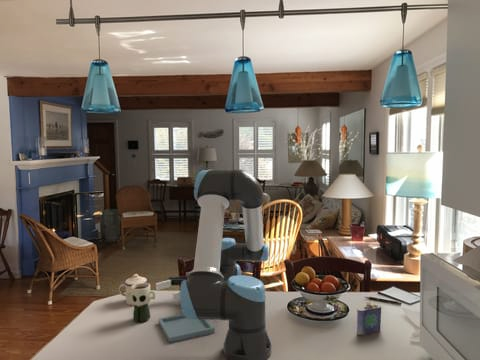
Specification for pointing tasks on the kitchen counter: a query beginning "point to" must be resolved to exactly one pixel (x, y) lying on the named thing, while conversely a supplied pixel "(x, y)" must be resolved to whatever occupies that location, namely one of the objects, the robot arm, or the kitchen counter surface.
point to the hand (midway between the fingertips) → (164, 291)
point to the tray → (184, 327)
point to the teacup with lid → (129, 283)
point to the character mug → (141, 300)
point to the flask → (368, 319)
